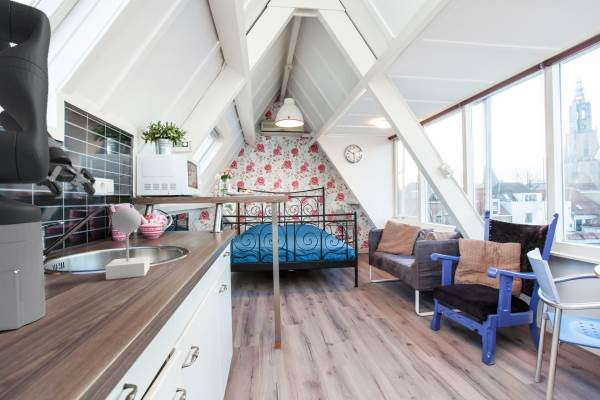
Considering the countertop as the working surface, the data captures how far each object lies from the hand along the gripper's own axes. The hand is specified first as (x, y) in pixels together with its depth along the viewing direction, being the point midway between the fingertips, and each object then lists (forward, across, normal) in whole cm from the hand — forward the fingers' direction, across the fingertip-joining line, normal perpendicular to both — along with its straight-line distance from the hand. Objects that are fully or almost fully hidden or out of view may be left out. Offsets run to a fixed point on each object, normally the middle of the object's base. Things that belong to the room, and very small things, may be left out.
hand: (77, 194), depth 83 cm
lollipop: (+22, +5, +5) cm, 23 cm away
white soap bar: (+24, +6, +8) cm, 26 cm away
